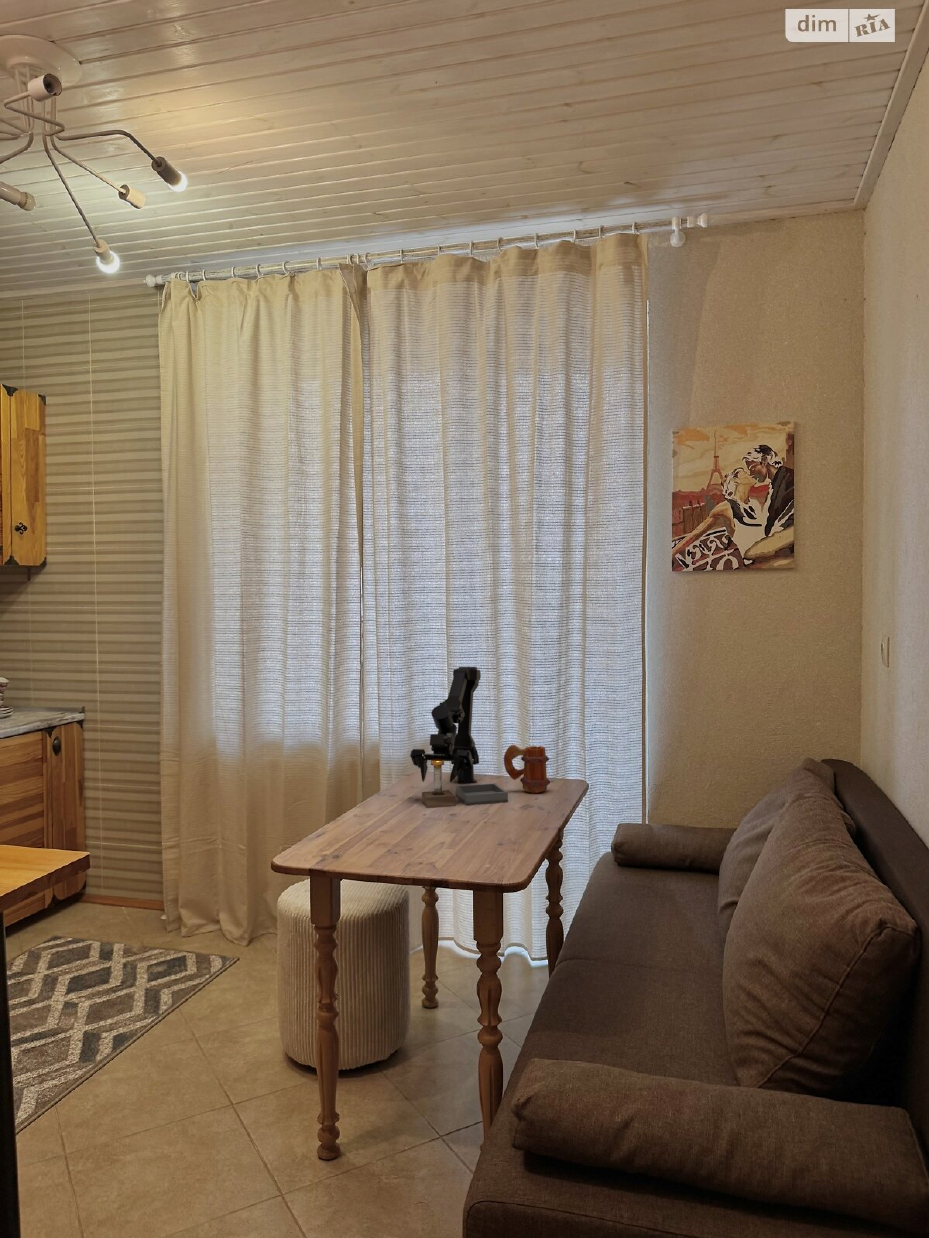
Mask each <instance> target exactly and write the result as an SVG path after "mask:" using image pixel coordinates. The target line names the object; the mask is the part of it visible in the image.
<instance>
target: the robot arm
mask: <svg viewBox="0 0 929 1238" xmlns="http://www.w3.org/2000/svg"><path fill="white" fill-rule="evenodd" d="M452 677H453V678H452V682H451V685H450V689H449V692H448V696H447V698H446V699H445V700H443V701H442V702H439V705H436V706H435V707H434V708H432V710H431V717H432V719H433V722H434V726H435V728H436V729H438V730H437V734H436V733H434V734H433V733H431V734H430V736H429V745H430V746H431V748H430V750H431V752H432V753H426V751H425V749H424V748H413V749H412V750H411V751H410V755H409V757H410V759H411V761H412V763H413V766H416V767H418V768H419V769H420V774H421V775H420V776H421V781H422V782H425V780H426V777H427V772H428V765H427V764H428V761H431V760H434V759H442V760H444V762H450V764H451V765H452V769H451V773H450V776H449V783H452V782H453V781H455V782H456V783H457V784H471V783H477V782H478V781H477V779H475V777H474V776H475V774H474V772H475V771H474V765H479V764H480V758H479V757H480V756H479V755H480V754H479V753H478V750H477V746H476V742H475V740H474V738H473V735H472V721H473V706H474V693H475V691H476V690H477V689H478V687H479V682H480V680H481V677H482V675H481V670H480V669H478V667H477V666H458V668H455V669H453V672H452ZM456 724H457V725H456Z"/></svg>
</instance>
